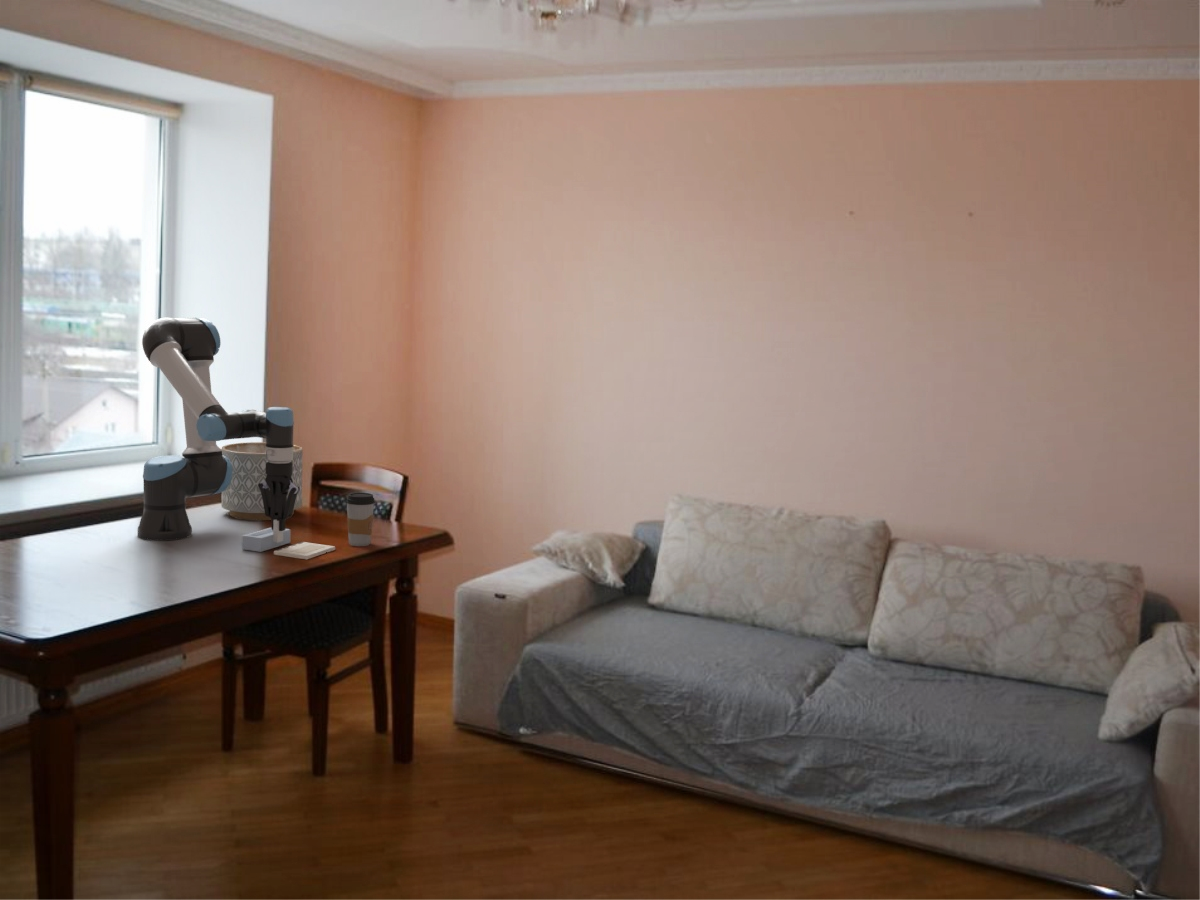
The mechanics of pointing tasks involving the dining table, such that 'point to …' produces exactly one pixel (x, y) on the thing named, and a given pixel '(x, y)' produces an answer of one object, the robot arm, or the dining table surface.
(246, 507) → the planter
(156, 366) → the robot arm
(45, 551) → the dining table surface
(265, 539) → the grey slotted block
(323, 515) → the dining table surface
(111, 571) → the dining table surface
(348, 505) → the coffee cup
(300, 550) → the cream rectangular plate
